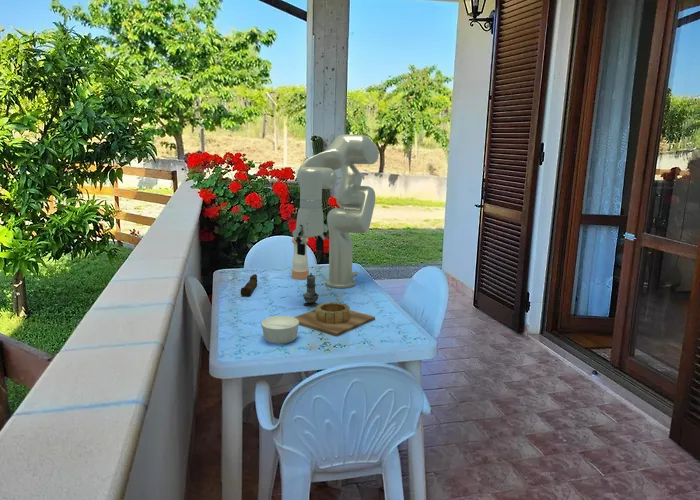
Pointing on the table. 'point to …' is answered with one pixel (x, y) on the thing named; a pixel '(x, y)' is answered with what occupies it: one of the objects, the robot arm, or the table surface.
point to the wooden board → (334, 329)
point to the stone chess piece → (310, 292)
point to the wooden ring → (332, 313)
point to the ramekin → (280, 329)
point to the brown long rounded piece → (249, 286)
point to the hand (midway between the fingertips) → (310, 252)
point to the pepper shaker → (300, 263)
